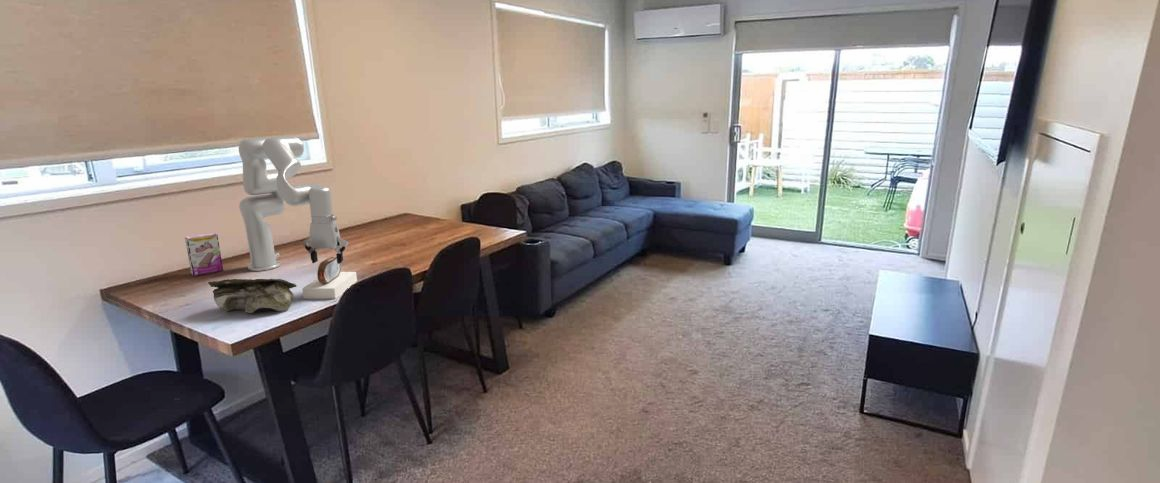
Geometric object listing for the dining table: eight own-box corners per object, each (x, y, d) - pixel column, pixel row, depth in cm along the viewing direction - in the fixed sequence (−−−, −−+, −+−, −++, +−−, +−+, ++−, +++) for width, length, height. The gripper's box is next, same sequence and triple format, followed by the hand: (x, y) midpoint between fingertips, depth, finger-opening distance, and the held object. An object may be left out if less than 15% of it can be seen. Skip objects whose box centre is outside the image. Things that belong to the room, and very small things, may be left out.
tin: (335, 273, 221) (333, 253, 219) (343, 273, 221) (341, 253, 219) (317, 286, 207) (315, 265, 205) (326, 286, 207) (323, 265, 205)
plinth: (327, 281, 225) (326, 271, 224) (357, 281, 225) (356, 271, 224) (303, 298, 206) (302, 288, 205) (335, 298, 206) (334, 288, 204)
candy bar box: (193, 276, 231) (186, 239, 227) (191, 274, 234) (183, 236, 230) (224, 271, 238) (217, 234, 234) (221, 268, 242) (214, 232, 238)
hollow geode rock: (215, 323, 195) (190, 305, 183) (225, 291, 202) (201, 271, 189) (295, 319, 196) (275, 301, 183) (303, 287, 203) (284, 268, 190)
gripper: (349, 217, 212) (353, 259, 216) (304, 216, 212) (309, 259, 216) (341, 222, 204) (345, 265, 209) (294, 221, 205) (300, 265, 209)
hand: (327, 262), depth 213 cm, fingers open, 9 cm apart
